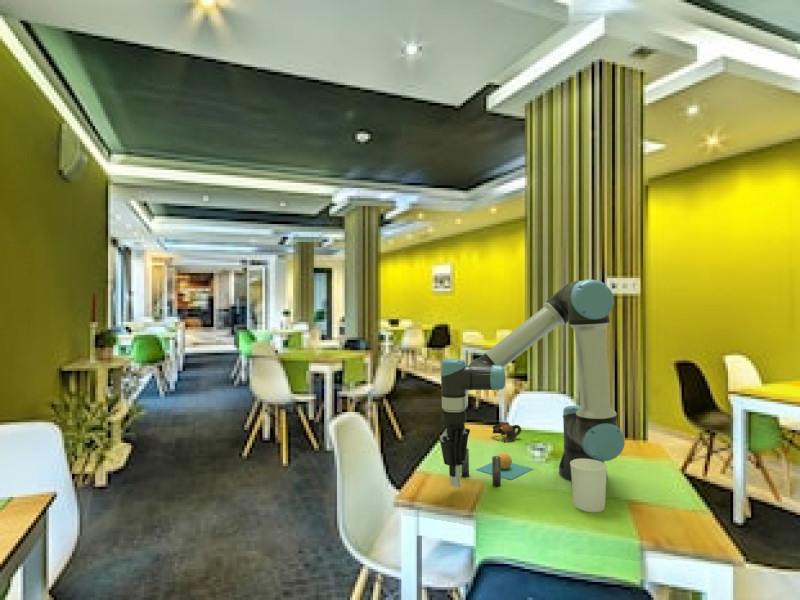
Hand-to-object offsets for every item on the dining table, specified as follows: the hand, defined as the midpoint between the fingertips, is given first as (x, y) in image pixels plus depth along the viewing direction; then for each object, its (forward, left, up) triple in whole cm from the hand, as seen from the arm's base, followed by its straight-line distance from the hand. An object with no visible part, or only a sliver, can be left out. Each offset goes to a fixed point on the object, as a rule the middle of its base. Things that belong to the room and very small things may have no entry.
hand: (455, 485), depth 148 cm
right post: (-6, -13, -2) cm, 15 cm away
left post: (+6, -13, -2) cm, 15 cm away
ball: (+1, -27, +1) cm, 28 cm away
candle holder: (-34, -18, -2) cm, 39 cm away
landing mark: (0, -27, -2) cm, 27 cm away
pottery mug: (+20, -59, -2) cm, 62 cm away
